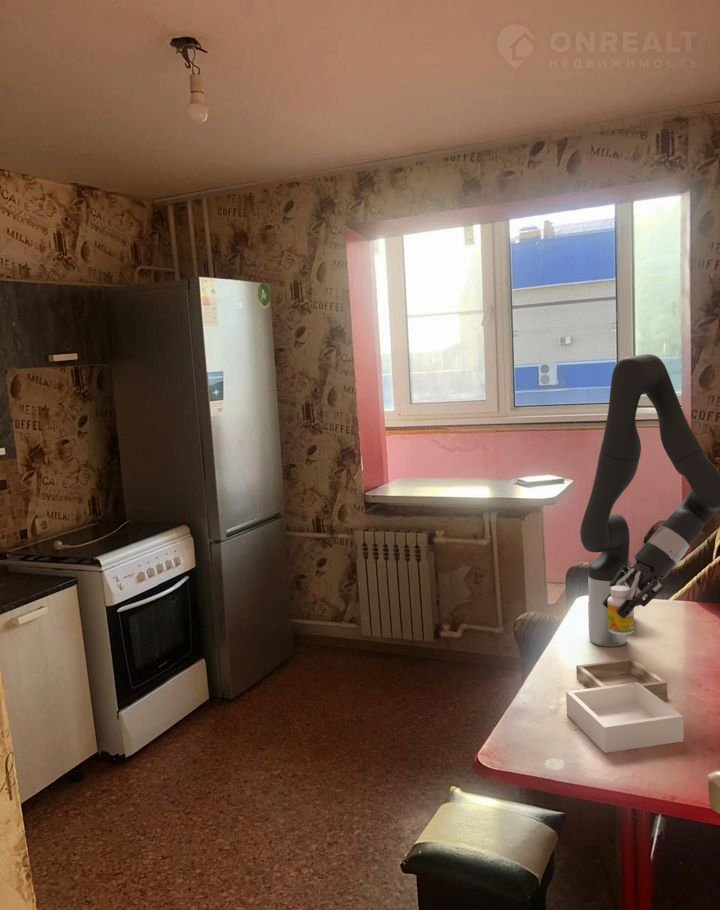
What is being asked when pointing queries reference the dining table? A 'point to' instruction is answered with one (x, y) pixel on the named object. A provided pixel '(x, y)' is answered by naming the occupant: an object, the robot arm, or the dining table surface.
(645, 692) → the bin
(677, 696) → the dining table surface
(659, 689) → the frame
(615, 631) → the supplement bottle
